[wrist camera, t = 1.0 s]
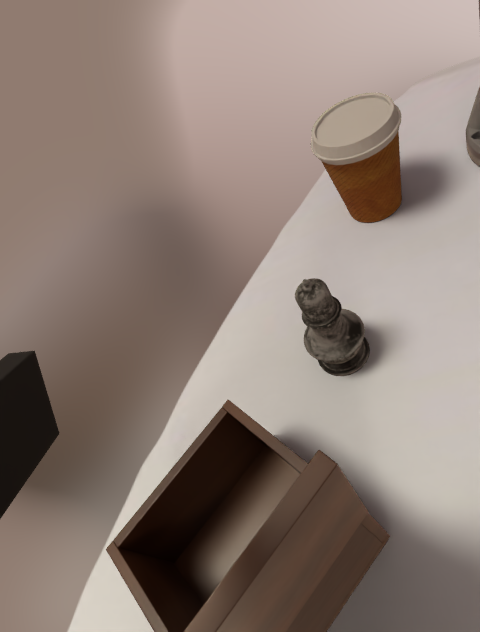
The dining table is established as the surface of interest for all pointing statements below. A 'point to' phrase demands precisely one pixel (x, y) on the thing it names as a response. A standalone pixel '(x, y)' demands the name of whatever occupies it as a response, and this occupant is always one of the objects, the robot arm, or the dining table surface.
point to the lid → (286, 555)
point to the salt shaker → (331, 330)
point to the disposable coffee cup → (362, 154)
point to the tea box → (224, 527)
